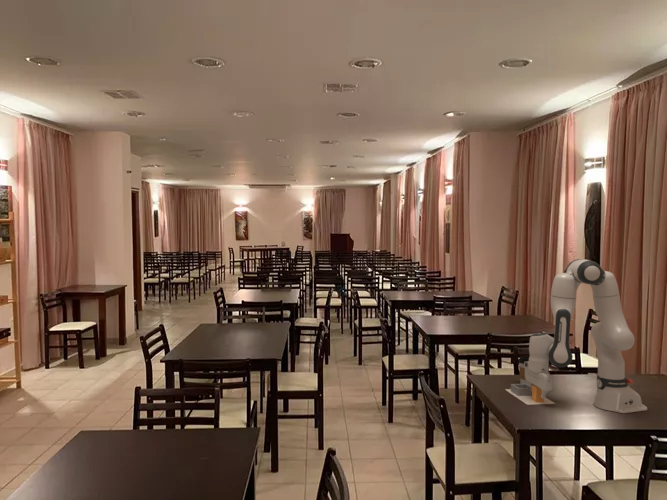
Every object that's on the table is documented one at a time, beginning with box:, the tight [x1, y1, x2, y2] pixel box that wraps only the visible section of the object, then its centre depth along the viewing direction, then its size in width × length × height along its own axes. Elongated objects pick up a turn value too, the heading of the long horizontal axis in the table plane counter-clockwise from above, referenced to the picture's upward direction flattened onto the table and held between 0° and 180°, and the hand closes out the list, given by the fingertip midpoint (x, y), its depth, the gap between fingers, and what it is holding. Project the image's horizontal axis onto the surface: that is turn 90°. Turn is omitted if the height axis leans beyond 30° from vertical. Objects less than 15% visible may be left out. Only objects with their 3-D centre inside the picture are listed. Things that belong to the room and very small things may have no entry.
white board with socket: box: [504, 383, 556, 406], centre depth 258 cm, size 14×24×4 cm, turn 6°
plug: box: [532, 385, 544, 402], centre depth 251 cm, size 4×4×9 cm
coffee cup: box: [517, 356, 530, 385], centre depth 280 cm, size 8×8×15 cm
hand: (538, 395), depth 251 cm, fingers open, 8 cm apart
